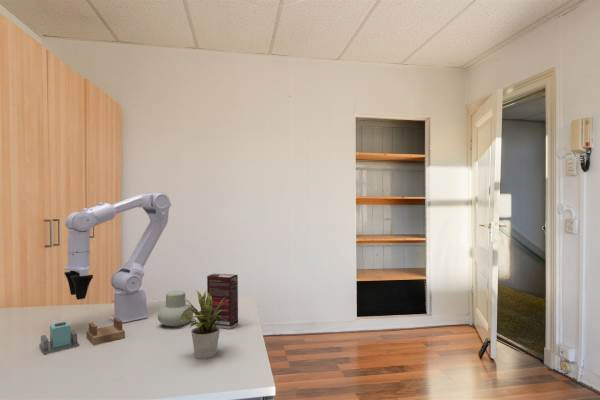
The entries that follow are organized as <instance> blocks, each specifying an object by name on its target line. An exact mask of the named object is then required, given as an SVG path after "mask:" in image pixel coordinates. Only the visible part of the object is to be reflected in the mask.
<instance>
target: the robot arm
mask: <svg viewBox="0 0 600 400" xmlns="http://www.w3.org/2000/svg"><path fill="white" fill-rule="evenodd" d="M171 206H172V203H171V200H170V198H169V196H168V194H167V193H164V192H153V193H152V192H147V193H142V194H137V195H134V196H131V197H129V198H127V199H124V200H121V201H118V202H116V203H113V204H110V203H109V202H105V203H104V202H98V203H97V205H95V206H92V207H89V208H87V207H83V208H82V210H81V211H75V212H71V213H70V214H68V216H67V217H66V220H65V221H64V225H65V226H66V228H67V229H68V233H67V235H68V237H67V266H62V270H64V272H63V274H64V276H65V278H66V280H67V282H68V286H69V292H70V295H71V296H74V295H75V298H76V300H84V299H86V298H87V297H86V296H87V293H88V289H89V285H90V283H91V281H92V279H93V278H94V275H93V274H89V269H91V265H90V251H91V250H90V248H91V246H90V245H91V244H90V243H91V242H90V241H91V229H92V228H93V227H96V226H98V225H99V226H100V225H101V224H103V223H106V222H110V221H112V220H114V219H115V217H116V215H117V214H120V213H123V212H124V213H125V212H126V211H129V210H132V209H133V210H134V209H135V208H142V209H143V210H144V212H145V213H146V214H147V216H148V219H149V223H148V225H147V227H146V228H145V230H144V232H143V233H142V236H141V238H140V239H139V240H138V243H137V244H136V245H135V247H134V249H133V251H132V252H131V254H130V256H129V258H128V260H127V261H126V262H125V263H123V264H122V265H121V266H120V267H119V269H118V270H117V271H116V272H114V274H113V275H112V276H111V279H110V285H111V286H112V288H113V289H114V291H113V293H114V296H113V297H114V300H113V302H114V303H113V304H114V309H113V310H114V316H110V317H109V318H110V319H111V320H112V321H113V322H114V320H113V318H116V317H117V318H119V319H120V320H121V321H122V324H124V323H129V322H133V321H139V320H142V319H147V318H148V315H147V294H146V292H145V290H144V289H140V288H141V287H142V283H143V277H144V276H145V271H144V267H145V265H146V263H147V261H148V260H149V258H150V256H151V254H152V252H153V250H154V248H155V247H156V245H157V243H158V241H159V240H160V237H161V236H162V234H163V232H164V230H165V228H166V226H167V224H168V222H169V210H170V209H171Z"/></svg>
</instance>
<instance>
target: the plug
mask: <svg viewBox="0 0 600 400" xmlns="http://www.w3.org/2000/svg"><path fill="white" fill-rule="evenodd" d="M70 330H71V324H70V323H69V322H68V321H62V322H58V323H53V324H50V325H49V335H50V336H49V337H50V338H49V339H50V340H49V341H50V344H51V345H52V347H53V348H54V347H58V346H62V345H67V344H70Z"/></svg>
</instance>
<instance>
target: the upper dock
mask: <svg viewBox="0 0 600 400" xmlns="http://www.w3.org/2000/svg"><path fill="white" fill-rule="evenodd" d="M113 320H114V321H113ZM113 320H112V321H113V324H112V325H107V326H103V327H98V326H97V325H96V323H94V322H93V321H92V322H88V330H86V339H87V340H88V341H89V342H90V343H91V344H92V345H93V346H98V345H102V344H105V343H110V342H113V341H118V340H123V339H126V332H125V330H124V329H123V323H122V321H121V320H120V319H119V318H117V317H116V318H113Z"/></svg>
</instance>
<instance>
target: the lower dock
mask: <svg viewBox="0 0 600 400" xmlns="http://www.w3.org/2000/svg"><path fill="white" fill-rule="evenodd" d="M78 346H79V347H80V343H79V342H78V332H77V331H76V330H75V329H74V328H73V329H72V328H70V344H67V345H62V346H58V347H54V348H53V347H52V345H51V344H50V340H49V338H48V336H47V335H46V334H44V335H40V343H38V347H39V349H40V350H41V352H42V354H43V355H47V354H48V355H49V354H52V353H53V354H54V353H56V352H61V350H62V351H65V349H66V350H69V348H70V349H73V347H74V348H78Z"/></svg>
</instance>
